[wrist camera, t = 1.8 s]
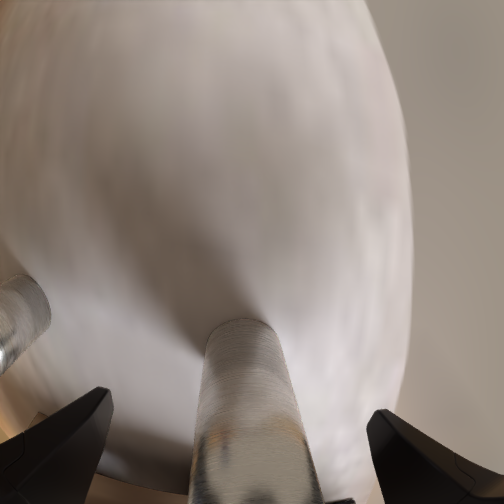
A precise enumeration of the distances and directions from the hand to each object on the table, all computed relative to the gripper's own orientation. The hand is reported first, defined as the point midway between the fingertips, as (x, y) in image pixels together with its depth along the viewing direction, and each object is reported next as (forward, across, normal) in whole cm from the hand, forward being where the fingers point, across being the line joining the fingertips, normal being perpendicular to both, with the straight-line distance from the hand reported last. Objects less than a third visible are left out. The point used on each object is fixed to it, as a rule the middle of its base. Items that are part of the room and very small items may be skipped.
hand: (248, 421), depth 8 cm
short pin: (+4, +11, 0) cm, 12 cm away
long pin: (+4, 0, 0) cm, 4 cm away
